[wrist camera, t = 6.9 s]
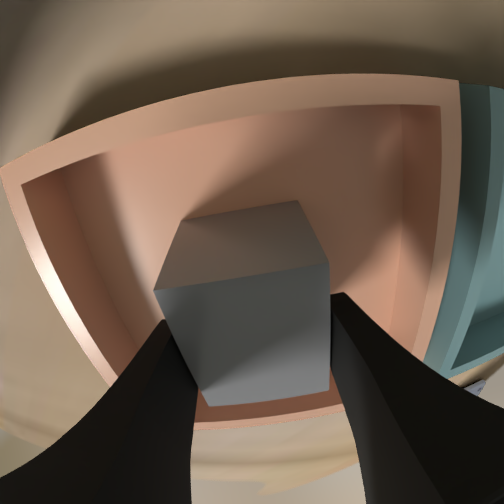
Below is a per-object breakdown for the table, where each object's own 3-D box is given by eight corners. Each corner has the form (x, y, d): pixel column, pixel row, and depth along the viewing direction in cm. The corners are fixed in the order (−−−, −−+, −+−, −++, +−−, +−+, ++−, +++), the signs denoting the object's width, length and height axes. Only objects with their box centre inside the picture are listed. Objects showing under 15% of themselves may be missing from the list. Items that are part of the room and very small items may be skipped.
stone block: (307, 312, 12) (329, 390, 9) (214, 327, 13) (209, 406, 9) (297, 200, 10) (329, 262, 6) (180, 220, 10) (153, 290, 7)
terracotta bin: (392, 351, 15) (411, 392, 12) (154, 386, 15) (145, 429, 13) (408, 79, 8) (458, 80, 6) (46, 147, 9) (-2, 168, 6)
